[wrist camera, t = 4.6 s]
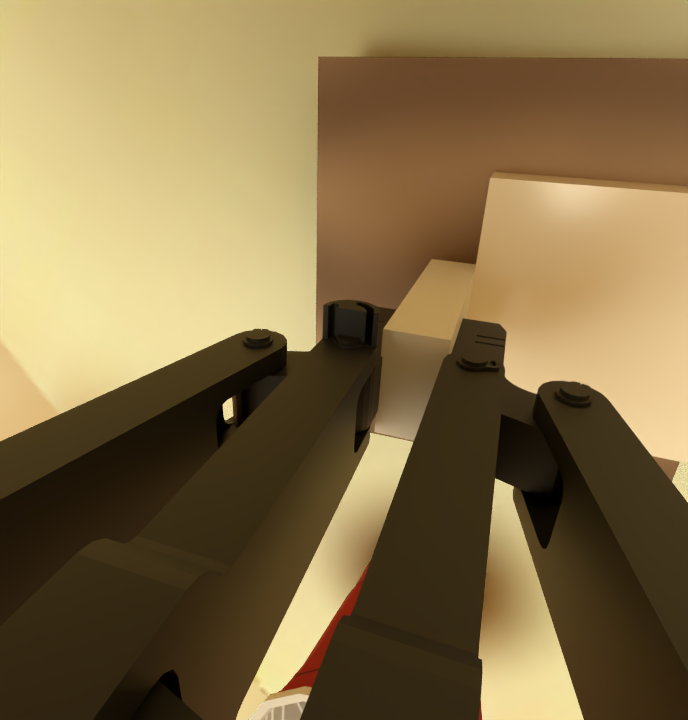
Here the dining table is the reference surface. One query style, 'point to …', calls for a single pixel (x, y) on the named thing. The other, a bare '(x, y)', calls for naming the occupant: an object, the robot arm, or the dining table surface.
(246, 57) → the dining table surface
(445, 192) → the brown block
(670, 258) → the tile
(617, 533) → the robot arm
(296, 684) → the plastic cup
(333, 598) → the dining table surface
